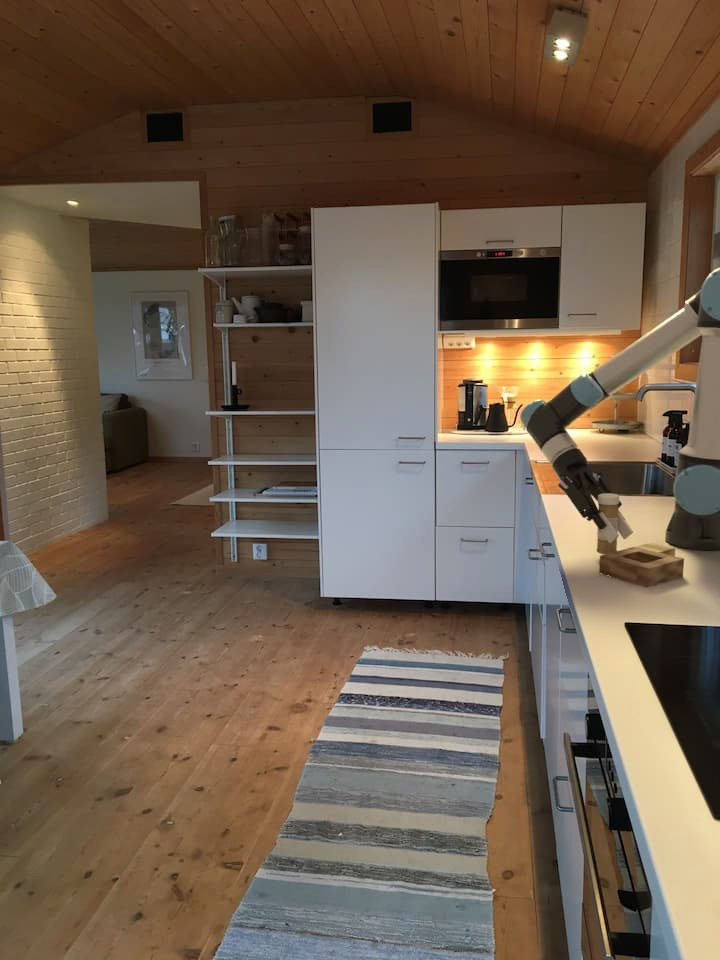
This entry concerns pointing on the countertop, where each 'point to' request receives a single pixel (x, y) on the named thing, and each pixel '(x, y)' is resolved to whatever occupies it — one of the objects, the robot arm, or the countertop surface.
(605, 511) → the sprinkles bottle
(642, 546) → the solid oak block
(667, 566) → the socket block
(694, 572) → the countertop surface
